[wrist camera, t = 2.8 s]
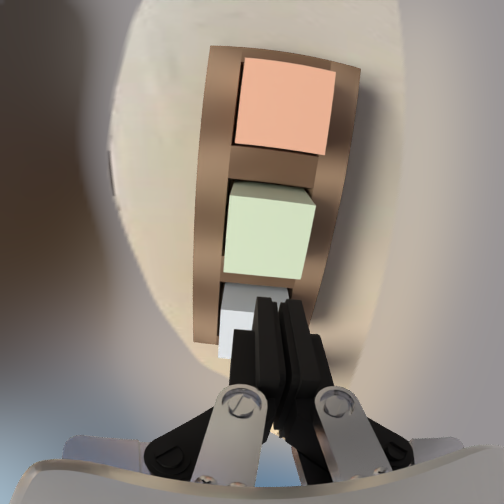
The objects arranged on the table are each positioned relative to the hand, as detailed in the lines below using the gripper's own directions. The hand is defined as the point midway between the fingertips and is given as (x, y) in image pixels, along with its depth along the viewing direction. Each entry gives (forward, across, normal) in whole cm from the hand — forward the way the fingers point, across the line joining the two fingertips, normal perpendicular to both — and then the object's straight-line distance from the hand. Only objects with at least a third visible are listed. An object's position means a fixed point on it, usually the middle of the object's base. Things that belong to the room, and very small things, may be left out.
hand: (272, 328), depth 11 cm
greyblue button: (+12, 0, +7) cm, 14 cm away
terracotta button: (+12, 0, -9) cm, 15 cm away
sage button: (+12, 0, -1) cm, 12 cm away
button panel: (+14, 0, -1) cm, 14 cm away
